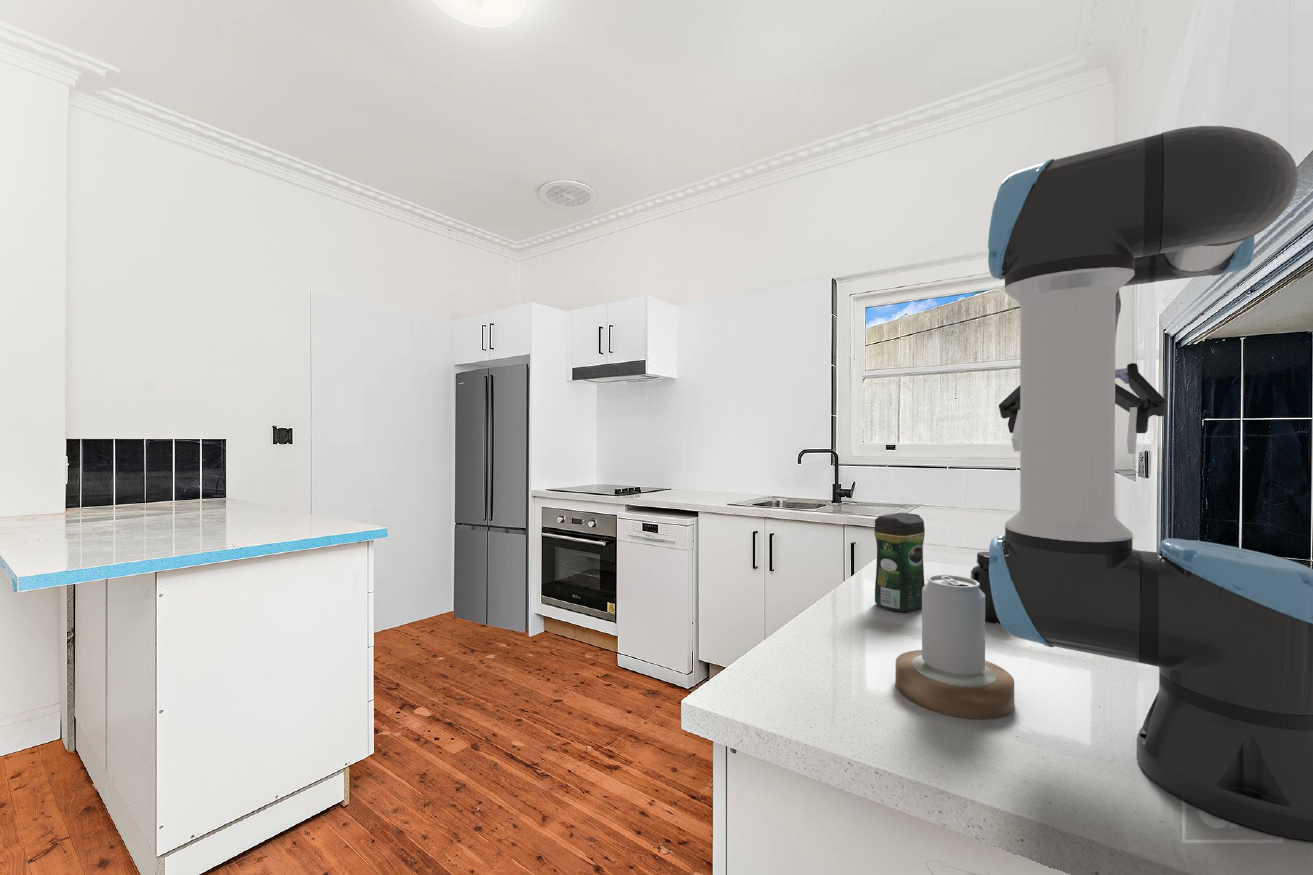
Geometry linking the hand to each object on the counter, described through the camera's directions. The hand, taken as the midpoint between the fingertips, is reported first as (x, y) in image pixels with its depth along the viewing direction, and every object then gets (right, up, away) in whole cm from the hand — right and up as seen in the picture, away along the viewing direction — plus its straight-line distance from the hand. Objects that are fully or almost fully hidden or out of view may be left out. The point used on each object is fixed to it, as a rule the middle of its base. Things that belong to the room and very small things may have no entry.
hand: (1070, 446), depth 82 cm
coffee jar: (-12, -33, +31) cm, 46 cm away
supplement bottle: (+2, -33, +23) cm, 40 cm away
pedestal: (-20, -33, -6) cm, 39 cm away
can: (-20, -30, -6) cm, 37 cm away
